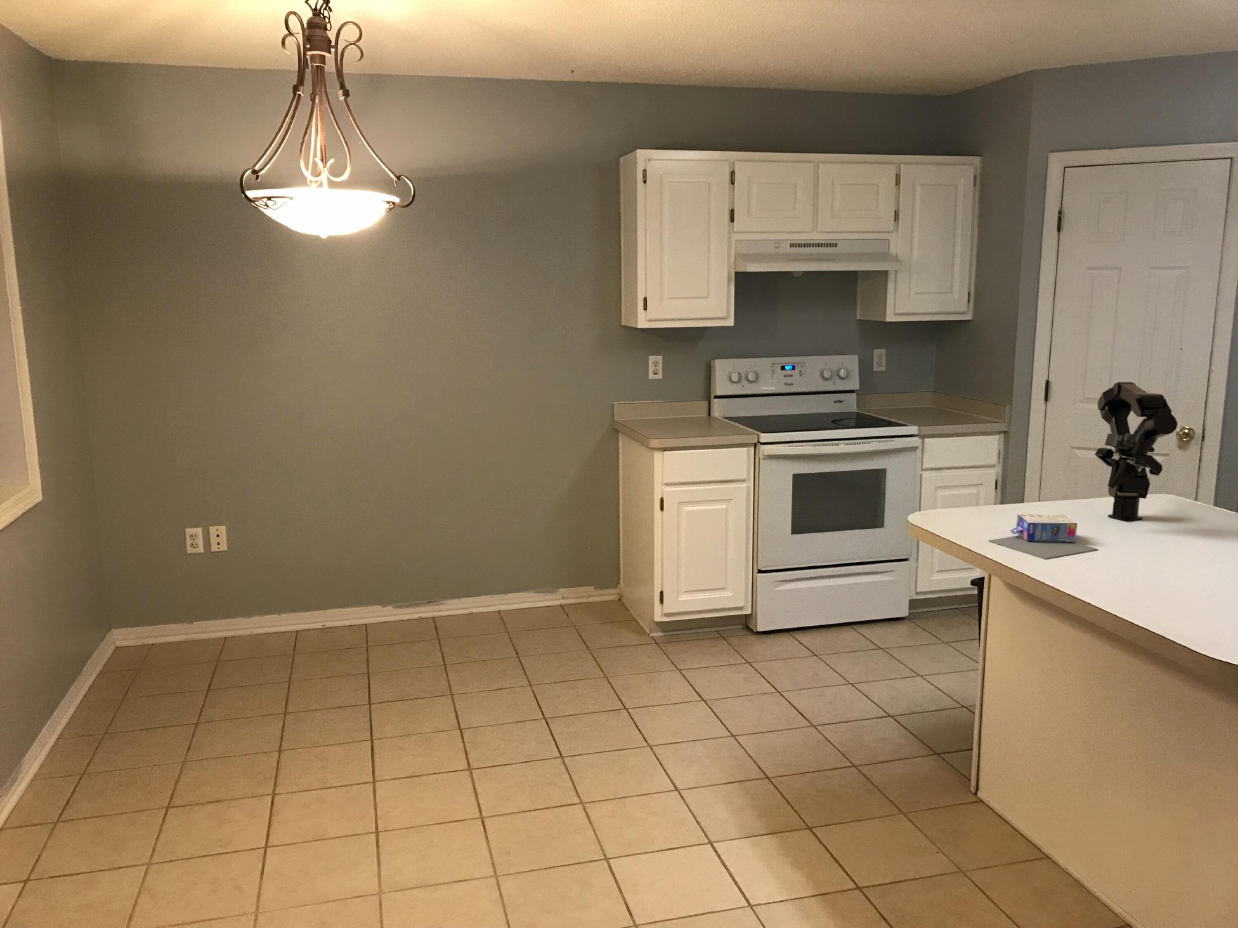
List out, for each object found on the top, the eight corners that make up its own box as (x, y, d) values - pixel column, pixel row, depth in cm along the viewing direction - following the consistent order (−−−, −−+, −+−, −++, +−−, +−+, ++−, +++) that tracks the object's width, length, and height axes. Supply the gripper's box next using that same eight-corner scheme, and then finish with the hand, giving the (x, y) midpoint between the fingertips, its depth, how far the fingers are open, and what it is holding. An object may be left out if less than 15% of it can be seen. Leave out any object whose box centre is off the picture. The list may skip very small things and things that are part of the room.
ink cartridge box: (1063, 534, 259) (1006, 532, 261) (1065, 514, 258) (1008, 511, 260) (1075, 544, 249) (1016, 541, 251) (1078, 522, 248) (1018, 520, 250)
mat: (1039, 533, 261) (1039, 532, 261) (1097, 550, 245) (1097, 548, 245) (988, 541, 253) (988, 540, 253) (1045, 559, 237) (1045, 558, 237)
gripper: (1098, 418, 266) (1065, 465, 266) (1150, 424, 248) (1115, 474, 248) (1125, 441, 269) (1092, 488, 269) (1178, 449, 251) (1143, 499, 251)
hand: (1109, 487), depth 259 cm, fingers closed
